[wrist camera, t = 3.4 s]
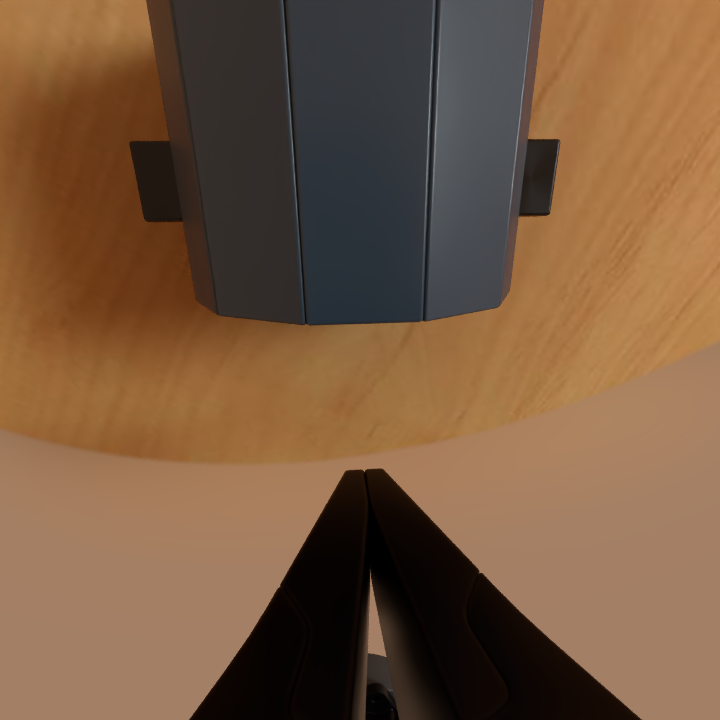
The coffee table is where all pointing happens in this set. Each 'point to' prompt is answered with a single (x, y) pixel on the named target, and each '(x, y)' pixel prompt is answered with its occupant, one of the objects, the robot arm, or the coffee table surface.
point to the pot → (347, 153)
